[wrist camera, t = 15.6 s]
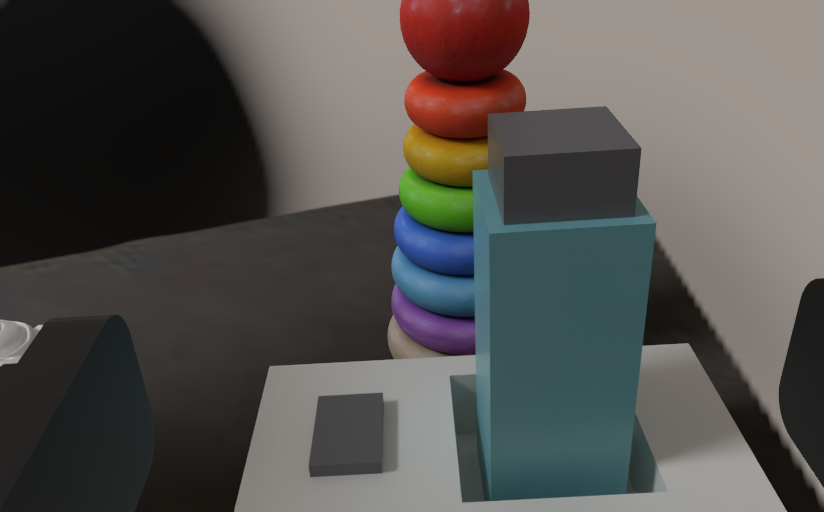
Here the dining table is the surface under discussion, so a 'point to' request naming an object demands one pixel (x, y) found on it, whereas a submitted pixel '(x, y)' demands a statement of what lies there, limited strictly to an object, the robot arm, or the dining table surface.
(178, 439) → the dining table surface
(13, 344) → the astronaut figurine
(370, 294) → the dining table surface
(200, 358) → the dining table surface
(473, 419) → the recessed white block
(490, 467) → the teal square bottle
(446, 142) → the stacking toy
